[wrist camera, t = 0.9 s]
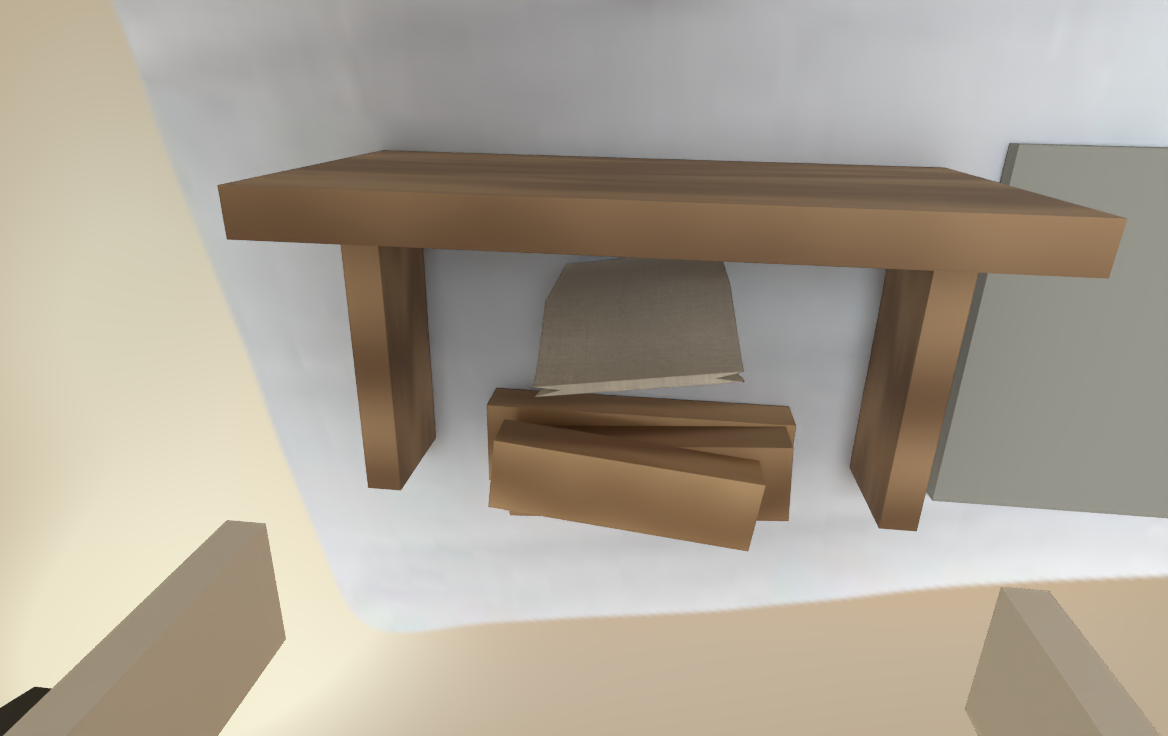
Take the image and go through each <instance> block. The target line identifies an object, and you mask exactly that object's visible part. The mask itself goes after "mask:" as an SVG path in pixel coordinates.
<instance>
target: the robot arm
mask: <svg viewBox="0 0 1168 736" xmlns="http://www.w3.org/2000/svg"><path fill="white" fill-rule="evenodd" d="M285 639H286V638H285V631H284V626H283V620H282V614H281V609H280V603H279V598H278V592H277V586H276V581H275V574H274V569H273V564H272V557H271V552H270V546H269V541H268V535H267V529H266V524H265V523H253V522H241V521H229V520H227V521H226V522H225V523H224V524H223V525H222V526H220V528H218V529H217V530H216V531H215V532H214V533H213V534H212V535H211V536H210V537H209V538H208V539H207V540H206V541H205V542H204V543H203V544H202V545H201V546H200V547H199V548H198V549H197V550H196V551H195V552H193V553H192V554H191V555H190V557H188V558H187V559H186V560H185V561H184V562H183V563H182V564H181V565H180V566H179V567H178V568H177V569H176V570H175V571H174V572H173V573H172V574H171V575H170V576H169V577H168V578H167V579H165V580H164V581H163V582H162V583H161V584H160V585H159V586H158V587H157V588H156V589H155V590H154V591H153V592H152V593H151V594H150V595H149V596H148V597H147V598H146V599H145V600H144V601H143V602H142V603H140V604H139V605H138V606H137V607H136V608H135V609H134V610H133V611H132V612H131V613H130V614H129V615H128V616H127V617H126V618H125V619H124V620H123V621H122V622H121V623H120V624H119V625H118V626H117V627H116V628H115V629H113V630H112V631H111V632H110V633H109V634H108V635H107V636H106V637H105V638H104V639H103V640H102V641H101V642H100V643H99V644H98V645H97V646H96V647H95V648H94V649H93V650H92V651H91V652H90V653H89V654H88V655H87V656H85V657H84V658H83V659H82V660H81V661H80V663H78V664H77V665H76V666H75V667H74V668H73V669H72V670H71V671H70V672H69V673H68V674H67V675H66V676H65V677H64V678H63V679H62V680H61V681H60V682H58V683H57V684H56V685H55V686H54V687H53V688H52V689H50V688H42V687H34V688H32V689H30V690H29V691H27V692H25V693H24V694H22V695H20V696H19V697H17V698H16V699H14V700H12V701H11V702H9V703H8V704H6V705H4V706H3V707H1V708H0V736H218V735H219V733H220V732H221V731H222V729H223V728H224V726H225V725H226V723H227V722H228V721H229V719H230V718H231V716H232V715H233V713H234V712H235V710H236V709H237V708H238V706H239V705H240V703H241V702H242V701H243V699H244V698H245V696H246V695H247V694H248V692H249V691H250V689H251V687H252V686H253V685H254V684H255V682H256V681H257V679H258V678H259V676H260V675H261V674H262V672H263V671H264V669H265V668H266V666H267V665H268V664H269V662H270V661H271V659H272V658H273V656H274V655H275V654H276V652H277V651H278V649H279V648H280V646H281V645H282V644H283V642H284V641H285ZM965 710H966V712H967V713H968V716H969V718H970V720H971V722H972V724H973V726H974V728H975V730H976V732H977V734H978V736H1161V735H1160V734H1159V732H1158V731H1157V730H1156V728H1155V727H1154V726H1153V724H1152V723H1151V722H1150V721H1149V719H1148V718H1147V717H1146V715H1145V714H1144V713H1143V712H1142V710H1141V709H1140V708H1139V706H1138V705H1137V704H1136V703H1135V701H1134V700H1133V699H1132V697H1131V696H1130V695H1129V693H1128V692H1127V691H1126V690H1125V688H1124V687H1123V686H1122V684H1121V683H1120V682H1119V681H1118V679H1117V678H1116V677H1115V675H1114V674H1113V673H1112V672H1111V670H1110V669H1109V668H1108V666H1107V665H1106V664H1105V663H1104V661H1103V660H1102V659H1101V657H1100V656H1099V655H1098V653H1097V652H1096V651H1095V650H1094V648H1093V647H1092V646H1091V645H1090V643H1089V642H1088V640H1087V639H1086V638H1085V637H1084V635H1083V634H1082V633H1081V631H1080V630H1079V629H1078V628H1077V626H1076V625H1075V624H1074V622H1073V621H1072V620H1071V619H1070V617H1069V616H1068V615H1067V613H1066V612H1065V611H1064V609H1063V608H1062V607H1061V606H1060V604H1059V603H1058V602H1057V600H1056V599H1055V598H1054V597H1053V595H1052V594H1051V593H1050V591H1045V590H1034V589H1023V588H1011V587H1001V589H1000V592H999V596H998V599H997V602H996V606H995V609H994V612H993V616H992V619H991V622H990V626H989V629H988V633H987V636H986V639H985V643H984V646H983V650H982V653H981V656H980V659H979V663H978V666H977V669H976V673H975V676H974V679H973V683H972V686H971V690H970V693H969V696H968V700H967V703H966V707H965Z"/></svg>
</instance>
